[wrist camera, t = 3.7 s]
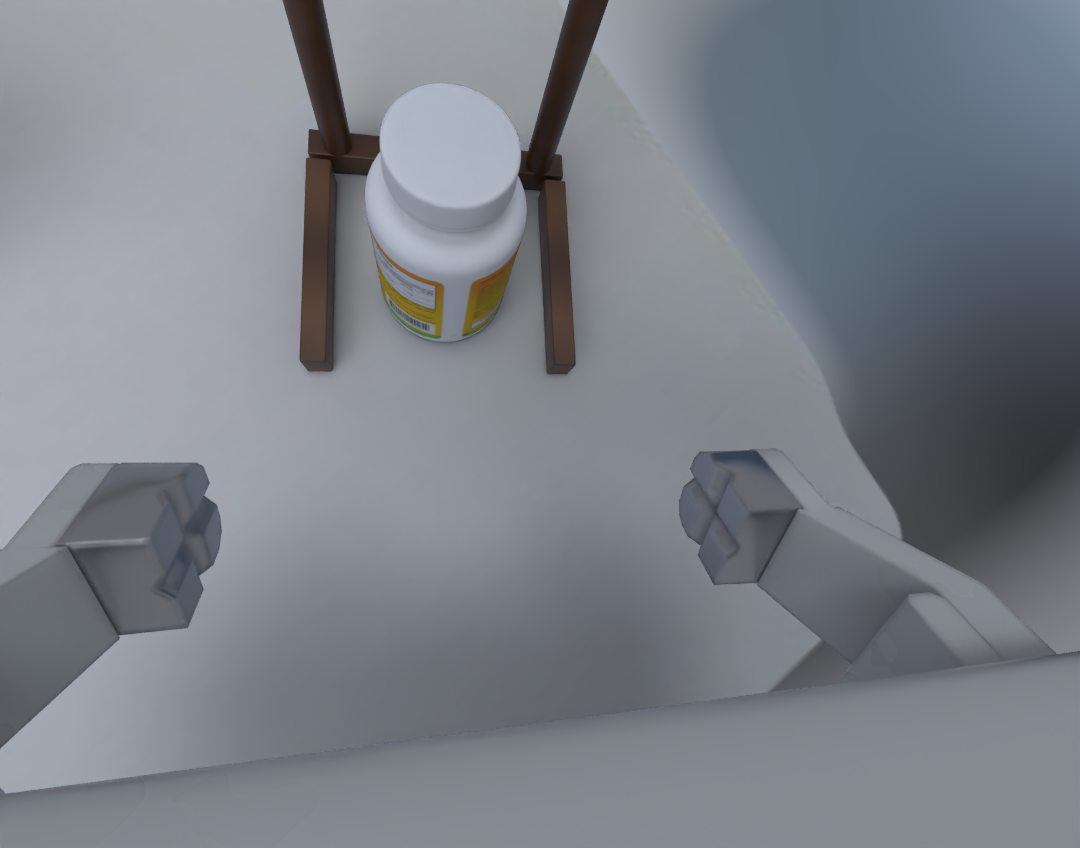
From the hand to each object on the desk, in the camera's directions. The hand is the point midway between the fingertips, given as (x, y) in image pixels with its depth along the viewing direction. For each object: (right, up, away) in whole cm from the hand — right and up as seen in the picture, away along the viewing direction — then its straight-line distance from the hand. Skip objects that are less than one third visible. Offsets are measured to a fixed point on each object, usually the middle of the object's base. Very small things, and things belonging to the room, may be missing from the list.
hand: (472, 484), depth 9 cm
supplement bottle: (-3, +7, +15) cm, 17 cm away
